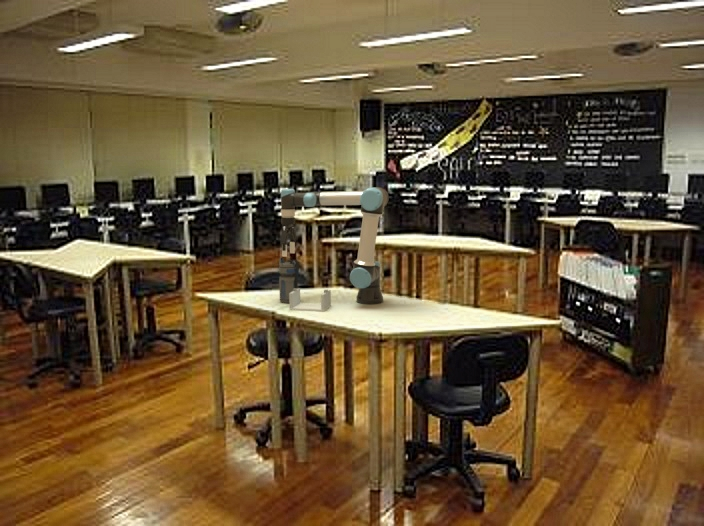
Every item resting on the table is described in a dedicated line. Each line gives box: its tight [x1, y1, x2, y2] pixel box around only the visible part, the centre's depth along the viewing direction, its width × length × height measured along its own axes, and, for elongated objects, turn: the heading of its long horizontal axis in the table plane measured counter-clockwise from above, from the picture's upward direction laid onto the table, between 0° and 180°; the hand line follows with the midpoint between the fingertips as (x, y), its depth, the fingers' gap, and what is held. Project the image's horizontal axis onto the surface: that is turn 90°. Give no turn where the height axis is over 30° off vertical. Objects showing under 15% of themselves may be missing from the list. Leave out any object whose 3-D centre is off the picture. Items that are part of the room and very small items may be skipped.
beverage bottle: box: [278, 256, 300, 304], centre depth 350 cm, size 10×13×25 cm
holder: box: [288, 288, 332, 313], centre depth 335 cm, size 19×14×10 cm
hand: (288, 254), depth 348 cm, fingers open, 13 cm apart
